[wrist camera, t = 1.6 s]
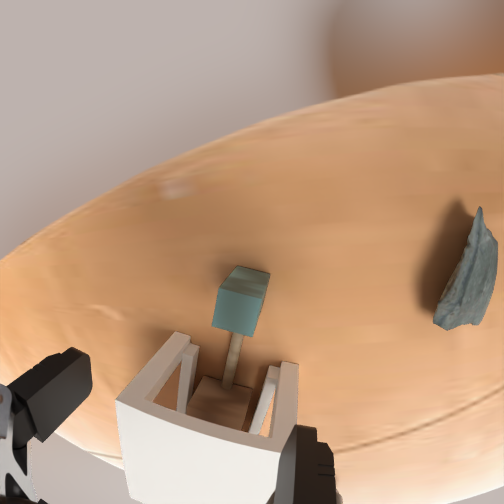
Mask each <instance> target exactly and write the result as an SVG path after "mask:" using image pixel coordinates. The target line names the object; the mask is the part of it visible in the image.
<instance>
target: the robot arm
mask: <svg viewBox="0 0 504 504" xmlns="http://www.w3.org/2000/svg"><path fill="white" fill-rule="evenodd" d="M91 390H92V374H91V363H90V357H89V355H88V354H86V353H84V352H82V351H80V350H78V349H76V348H74V347H71V348H69V349H67V350H66V351H65V352H63V353H62V354H60V353H57V354H54V355H51V356H48V357H46V358H45V359H43V360H42V361H41V362H39V364H37V365H35V366H34V367H33V369H30V370H28V371H27V372H25V373H24V374H23V375H21V376H20V377H19V378H17V379H16V380H15V381H13V382H12V383H10V384H9V385H8V386H4V385H2V384H0V504H48V503H46V502H45V501H44V500H42V499H40V500H39V502H38V500H37V496H36V492H35V489H34V487H33V483H32V476H31V442H30V439H31V438H32V437H33V436H34V437H35V438H37V439H38V440H39V441H41V442H42V443H43V442H44V441H45V440H46V439H47V438H48V437H49V436H50V435H51V434H52V433H53V432H54V431H55V430H56V429H57V428H58V427H59V426H60V425H61V424H62V423H63V422H64V421H65V420H66V418H67V417H68V416H69V415H70V414H71V413H72V412H73V411H74V410H75V409H76V408H77V407H78V406H79V405H80V404H81V403H82V402H83V401H84V400H85V399H86V398H87V397H88V396H89V394H90V392H91ZM334 476H335V469H334V457H333V453H332V451H331V449H330V448H329V446H328V444H327V443H323V442H317V429H316V428H315V427H309V426H303V425H297V424H295V425H294V427H293V429H292V431H291V433H290V435H289V437H288V439H287V441H286V443H285V445H284V447H283V449H282V452H281V455H280V459H279V464H278V473H277V481H276V489H275V497H274V504H337V501H336V484H335V477H334Z"/></svg>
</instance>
